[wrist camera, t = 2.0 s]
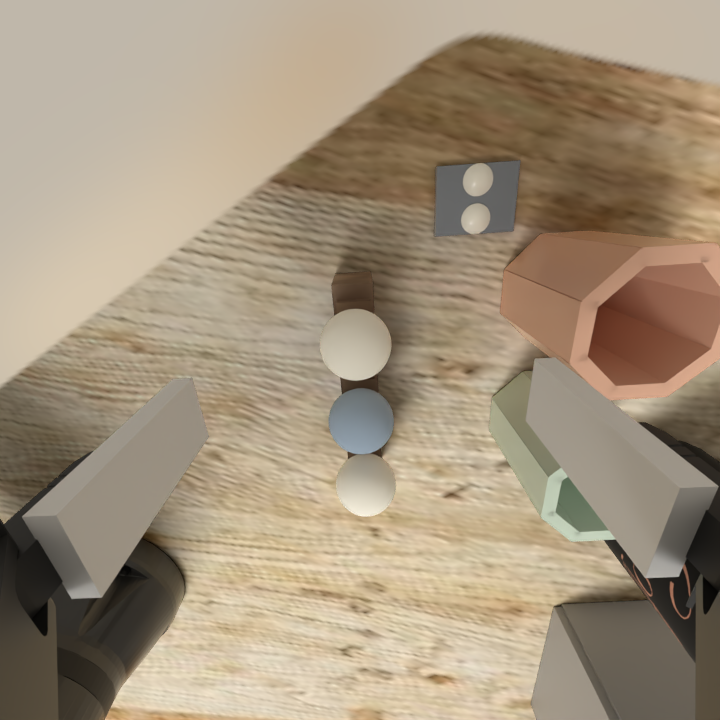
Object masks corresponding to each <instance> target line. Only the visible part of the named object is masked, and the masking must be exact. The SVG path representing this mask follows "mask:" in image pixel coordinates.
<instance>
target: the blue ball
mask: <svg viewBox="0 0 720 720" xmlns="http://www.w3.org/2000/svg"><path fill="white" fill-rule="evenodd" d="M393 426H394V417H393V412H392V409H391V407H390V405H389V403H388V402H387V400H386V399H385V398H384V397H383V396H382V395H380V394H379V393H377V392H375V391H373V390H370V389H365V388H357V389H352V390H349V391H347V392H345V393H344V394H342V395H341V396H340V397H339V398H338V399H337V400H336V401H335V402H334V404H333V406H332V408H331V410H330V414H329V428H330V432H331V435H332V437H333V439H334V440H335V441H336V443H337V444H338V445H339V446H340V447H341V448H343V449H344V450H346V451H348V452H351V453H354V454H369V453H372V452H374V451H376V450H378V449H380V448H381V447H382V446H383V445H384V444H385V443H386V442H387V441H388V439H389V438H390V436H391V434H392V431H393Z"/></svg>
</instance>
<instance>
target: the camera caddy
mask: <svg viewBox="0 0 720 720" xmlns="http://www.w3.org/2000/svg"><path fill="white" fill-rule="evenodd" d="M695 676H696V663H695V662H694V661H693V659H692V658H691V657H690V655H689V654H688V653H687V651H686V650H685V649H684V647H683V646H682V645H681V643H680V642H679V641H678V639H677V638H676V637H675V635H674V634H673V633H672V631H671V630H670V629H669V627H668V626H667V624H666V623H665V622H664V620H663V619H662V618H661V616H660V615H659V614H658V612H657V611H656V610H655V608H654V607H653V606H652V604H651V603H650V602H649V600H639V601H618V602H597V603H577V604H562V606H561V607H554V608H553V613H552V617H551V621H550V625H549V629H548V634H547V638H546V642H545V646H544V650H543V655H542V659H541V663H540V667H539V671H538V676H537V680H536V684H535V688H534V692H533V697H532V701H531V706H532V709H533V712H534V714H535V717H536V720H695Z"/></svg>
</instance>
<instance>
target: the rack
mask: <svg viewBox="0 0 720 720" xmlns="http://www.w3.org/2000/svg"><path fill="white" fill-rule="evenodd" d="M331 286H332V296H333V307H334V316H335V315H336V314H338V313H340V312H342V311H345V310H348V309H363V310H366V311H369V312H371V313H373V314H374V295H373V281H372V276H371V271H369V272H354V273H339V274H335V276H334V279H333V282H332V285H331ZM340 379H341V389H342V394H344V393H345V392H347V391H349V390H352V389H357V388H365V389H370V390H373V391H375V392H377V393H378V375H377V374H376V375H374V376H372V377H370V378H368V379H364V380H358V381H353V380H347V379H343V378H341V377H340ZM347 452H348V451H347ZM370 454H374V455H377V456H379V457H381V458H382V455H381V448H380V449H378V450H376V451H374V452H372V453H370ZM355 455H357V454H354V453H351V452H348V459H349V458H351V457H353V456H355Z"/></svg>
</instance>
